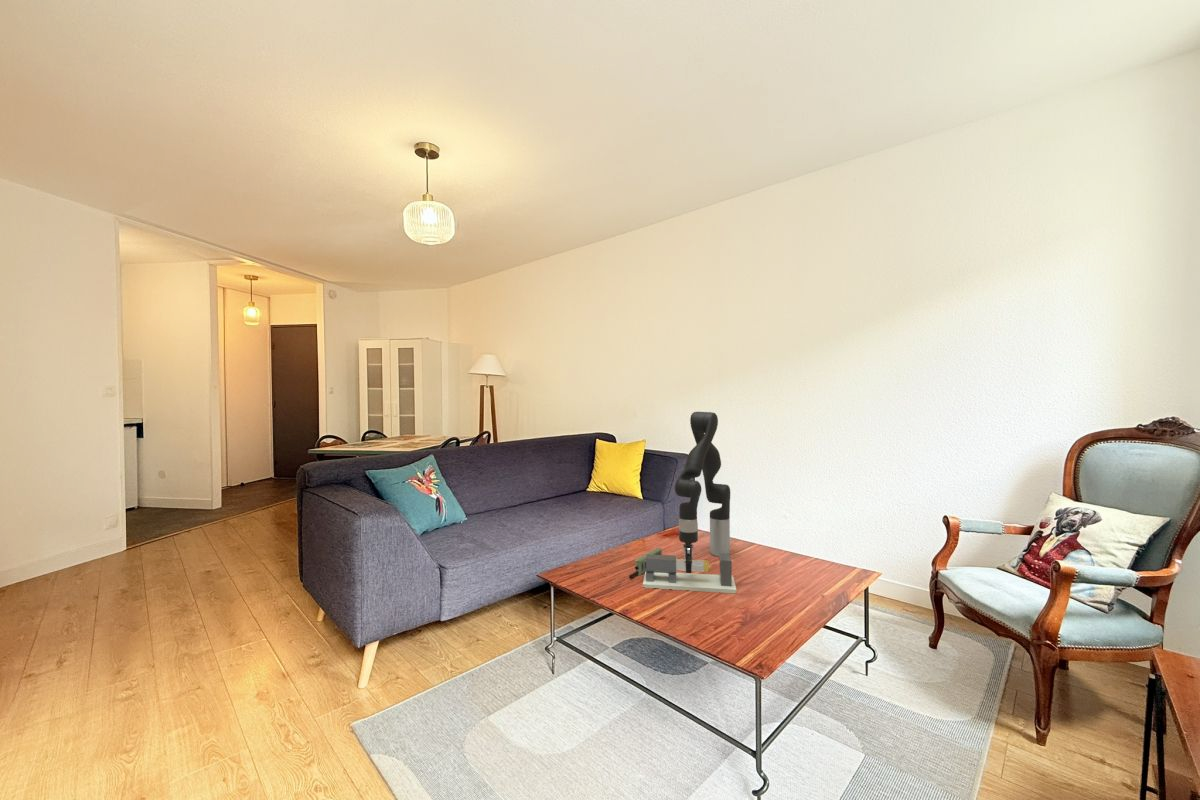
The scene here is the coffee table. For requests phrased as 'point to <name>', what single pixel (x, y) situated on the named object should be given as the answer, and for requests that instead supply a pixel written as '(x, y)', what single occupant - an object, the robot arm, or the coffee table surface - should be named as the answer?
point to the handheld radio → (644, 562)
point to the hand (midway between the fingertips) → (688, 568)
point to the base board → (690, 583)
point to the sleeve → (661, 566)
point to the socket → (725, 570)
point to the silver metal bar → (693, 565)
